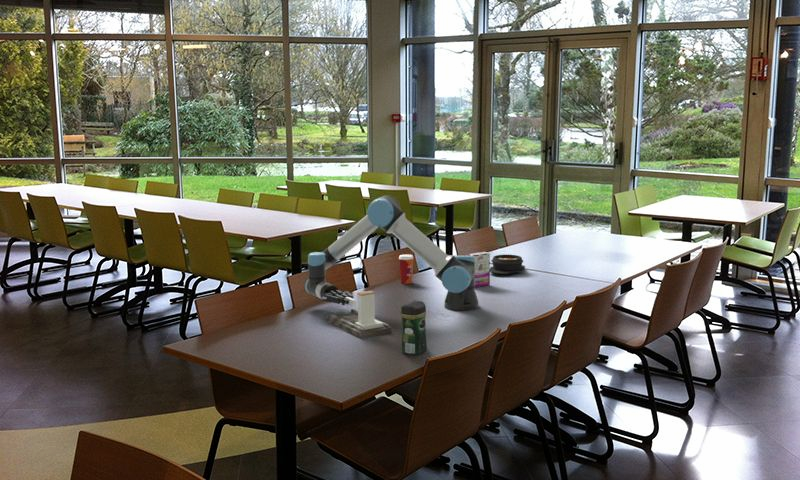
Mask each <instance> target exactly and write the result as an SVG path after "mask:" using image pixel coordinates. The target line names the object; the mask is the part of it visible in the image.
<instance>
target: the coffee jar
mask: <svg viewBox="0 0 800 480" xmlns="http://www.w3.org/2000/svg"><path fill="white" fill-rule="evenodd" d="M426 307H427V306H426V303H424V301H420V300H413V301H410V302H408V303H405V304H403V305H401V307H400V316H401V324H402V325H401V329H402V330H401V352H402V353H403V354H405V355H419V354H421V353H424V352H425V351H426V350H427V348H428V346H427V343H428V342H427V333H426V332H427V329H426V316H427V315H426V314H427V309H426Z"/></svg>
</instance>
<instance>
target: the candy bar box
mask: <svg viewBox="0 0 800 480" xmlns="http://www.w3.org/2000/svg"><path fill="white" fill-rule="evenodd" d="M490 255H491V254H490V252H487V251H481V252H473V253H472V252H471V253H466V254H465V256H473V257H474V259H475V288H480V287H487V286H491V282H490V281H491V277H490V276H491V272H490V268H491V266H490V262H491V260H490V257H491V256H490Z"/></svg>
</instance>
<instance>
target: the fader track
mask: <svg viewBox="0 0 800 480" xmlns="http://www.w3.org/2000/svg"><path fill="white" fill-rule="evenodd" d="M375 319H376V320H378V321H380V322H382V323H383V327H378V328H373V329H367V330H365V329H363V328H361V327H359V326H357V325H355V322H358V310H357V309H354V308H351V309H350V311H347V312H342V313H337V314H336V313H335V314H334V313H331V312H327V315H326V316H325V321H326V322H327V323H329V324H332V325H334V326H336V327H337V328H339V329H341V330H344V331H346V332H348V333H350V334H352V335H353V336H356V337H357V338H359V339H363V338H368V337H375V336H380V335H386V334H390V333H393V332H392V330H393V329H392V327H391V326H390V324H388V323H386V322H383V321H381V320H379V319H377V318H375Z"/></svg>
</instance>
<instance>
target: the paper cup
mask: <svg viewBox="0 0 800 480" xmlns="http://www.w3.org/2000/svg"><path fill="white" fill-rule="evenodd" d="M398 262H399V275H400V276H399V277H400V278H399V279H400V284H402V285H409V284H412V282H413V271H414V270H413V268H414V265H413V264H414V256H413V254H400V255H399V257H398Z"/></svg>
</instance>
